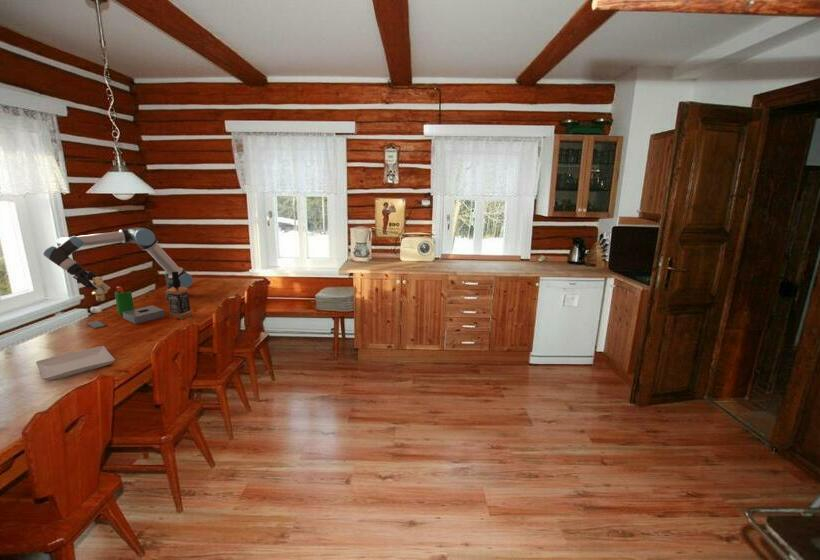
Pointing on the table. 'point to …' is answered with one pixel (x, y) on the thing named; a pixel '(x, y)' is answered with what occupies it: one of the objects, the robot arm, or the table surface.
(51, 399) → the table surface
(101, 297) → the brass flanged peg
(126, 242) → the robot arm
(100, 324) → the charcoal mat
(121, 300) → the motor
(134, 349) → the table surface
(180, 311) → the whiskey bottle
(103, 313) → the table surface
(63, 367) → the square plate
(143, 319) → the plate
